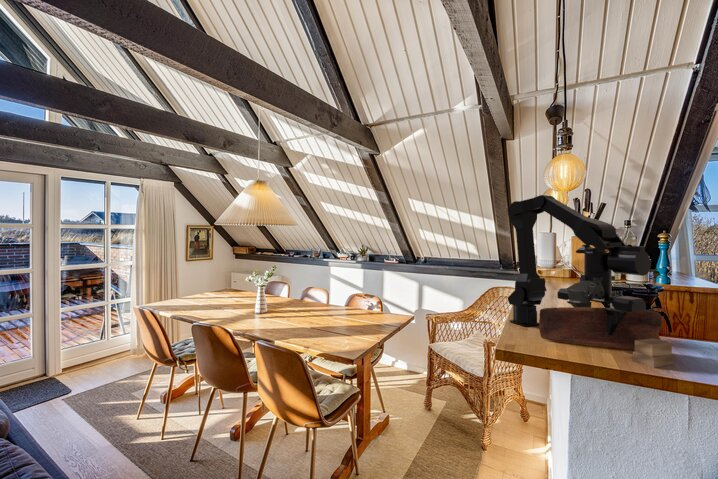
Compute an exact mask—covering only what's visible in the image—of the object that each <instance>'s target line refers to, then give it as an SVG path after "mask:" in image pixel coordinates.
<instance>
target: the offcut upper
mask: <svg viewBox="0 0 718 479" xmlns="http://www.w3.org/2000/svg"><path fill="white" fill-rule="evenodd" d="M672 349H673V343H672V342H669V341H666V340H661V339H660V340H658V339H654V338H653V339H643V340H635V350H634V352H638V353H641V354H645V355H648V356H651V357H655V356H663V355H670V354H673V352H672V351H673V350H672Z"/></svg>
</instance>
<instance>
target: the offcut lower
mask: <svg viewBox="0 0 718 479" xmlns="http://www.w3.org/2000/svg"><path fill="white" fill-rule="evenodd" d="M632 362H634V363H638V364H640V365H643V366H647V367H650V368H653V369H656V368H660V367H664V366H669V365H674V364H675V354H674V353H672V354H670V355H663V356H655V357H651V356H648V355H645V354H641V353H638V352H635V351H632Z"/></svg>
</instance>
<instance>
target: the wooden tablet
mask: <svg viewBox="0 0 718 479" xmlns="http://www.w3.org/2000/svg"><path fill="white" fill-rule="evenodd" d="M607 308H608V307H591V308H589V307H573V306H571V307H567V306H566V307H564V306H563V307H544V308H541V309H540V310H539V315H538V316H539V320H538V323H539V325H538V326H539V335H540V338H542V340H543V339H544V340H547V341H552V342H558V343H567V344H576V345H577V344H578V345H587V346H596V347H603V348H604V347H607V348H614V349H622V350H623V349H624V350H634V351H635V340H643V339H653V338H654V339H658V340H661V337H660V333H659V332H660V330H661V328H662V324H663V316H662V314H661V313H660V312H658V311H654V310H648V309H646V310H645V311H636V312H627V313H626V314H625V316H624V317H623V318H622V319H621V321H620V323H619V324H618V326H617V328H616V329H615V331H614V333H613V334H612V335H610V336H609V335H608V334H607V313H606V312H605V310H604V309H607Z"/></svg>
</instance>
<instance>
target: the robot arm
mask: <svg viewBox="0 0 718 479" xmlns="http://www.w3.org/2000/svg"><path fill="white" fill-rule="evenodd" d="M544 212H545V213H546V214H548V215H550V216H551V217H553V218H555V219H556V220H558V221H559V222H561V223H562V224H564V225H565V226H567V227H569V229H571V230H572V232H573V234H574V236H575V237H576V238H577V239H579V240H580V241H581V242H582V243H583V244H582V246H581V247H579V248H577V250H575V253H576V254H583V255H584V258H583V259H584V261H583V264H584V266H583V267H584V268H583V270H584V272H583V274H580V277H579V281H578V282H575V283H573V284H572V285H570V286H568V287H565V288H563V287H562V288H559V289H558V291H557V294H556V296H557V297H556V298H557V299H559V300H563V301H566V303H567V304H569V305H571V307H589V308H592V302H594V303H600V304H606V305H609V307H606V308H607V309H604V310H605V312H606V313H607V334H608V335H609V336H610V335H612V334H613V333H614V331H615V329H616V328H617V326H618V324H619V323H620V321H621V319H622V318H623V317H624V316H625V314H626V313H627V312H636V311H645V310H647V303H646V302H645V300H644V298H641V297H634V296H631V295H630V296H628V295H623V296H616V292H614V291H612V285H613V284H612V282H613V281H615V280H616V276H615V275H612V274H613V273H614V274H620V275H629V276H641V277H645V276H646V275H648V274H649V272H650V270H651V266H652V260H651V259H650V255H649V254H648V253H647V252H646V246H643V245H642V246H641V245H633V246H627V245H626V243H624V241H623V239H622V238H620V236H619V235H618V234H617V229H616V227H615V226H614V225H613V224H611V223H608V222H605V221H602V220H600V219H595V218H591V217H589V216H585V215H584V214H582V213H580V212H579V211H577V210H575V209H573V208H571V207H570V206H568V205H567V204H565V203H563V202H561V201H559V200H558V199H556V198H555V197H554V196H553V195H546V194H539V195H537V196H534V197H532V198H527V199H524V200H520V201H517V200H516V201H515V200H514V201H512V202H511V204H509V206H508V208H507V213H508V217H509V221H510V223H511V224H512V226H513V228H514V229H515V235H516V237H515V238H516V248H517V259H518V276H517V278H516V280H515V282H514V290H513V292H511V293H510V295H509V296H508V297H507V301H508V303H509V305H512V308H513V313H512V316H513V317H512V318H513V319H509V323H513V324H516V325H519V326H523V327H532V326H540V325H539V321H538V311H537V306H540V305H541V304H542V300H543V299H544V298H545V296H546V292H547V291H548V290H547V288H546V287H547V286H546V279H545V278H544V277H540V275H539V273H538V272H537V261H536V252H535V250H536V249H535V238H534V226H535V225H536V222H537V220H538V215H539V214H543V213H544ZM606 250H608V251H606Z"/></svg>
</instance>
